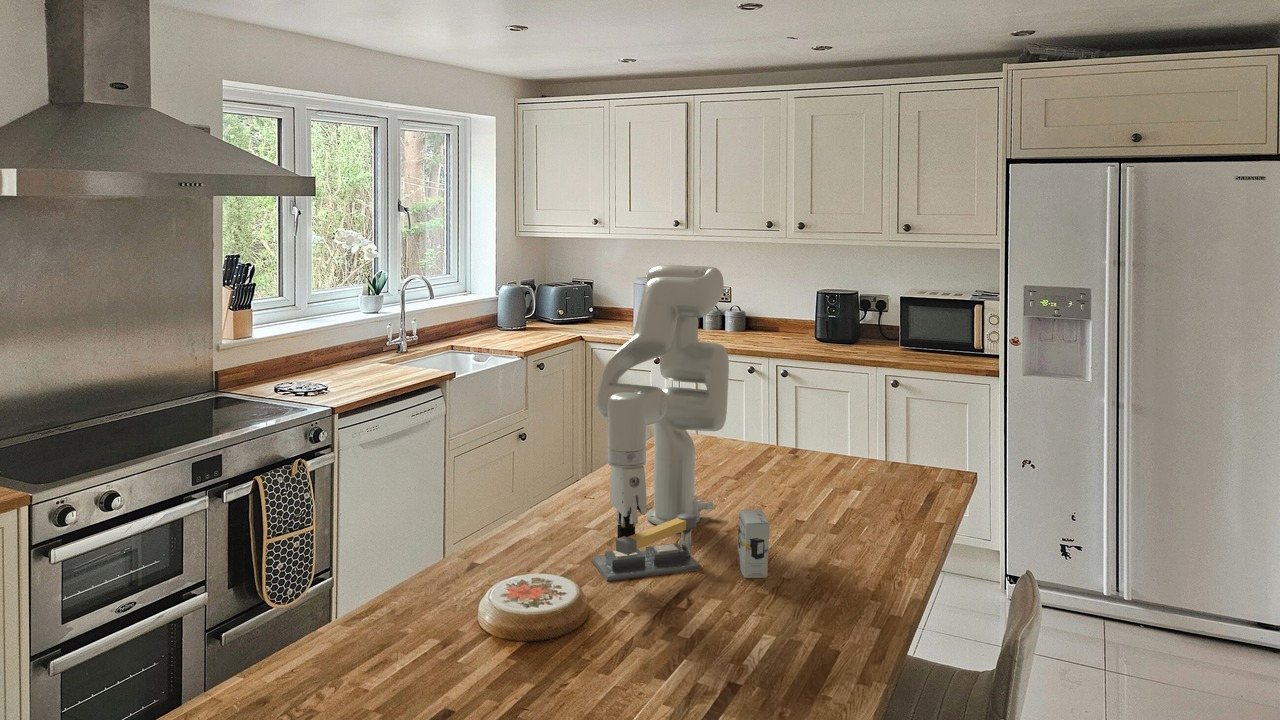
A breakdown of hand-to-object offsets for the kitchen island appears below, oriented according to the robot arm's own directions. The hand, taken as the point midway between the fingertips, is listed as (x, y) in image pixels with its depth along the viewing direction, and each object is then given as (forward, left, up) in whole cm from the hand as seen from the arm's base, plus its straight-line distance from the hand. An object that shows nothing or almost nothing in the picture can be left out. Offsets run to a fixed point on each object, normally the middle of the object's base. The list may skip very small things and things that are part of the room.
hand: (626, 543), depth 194 cm
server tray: (-6, -4, -7) cm, 10 cm away
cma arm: (-7, 0, 0) cm, 7 cm away
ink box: (-26, +5, -7) cm, 27 cm away
